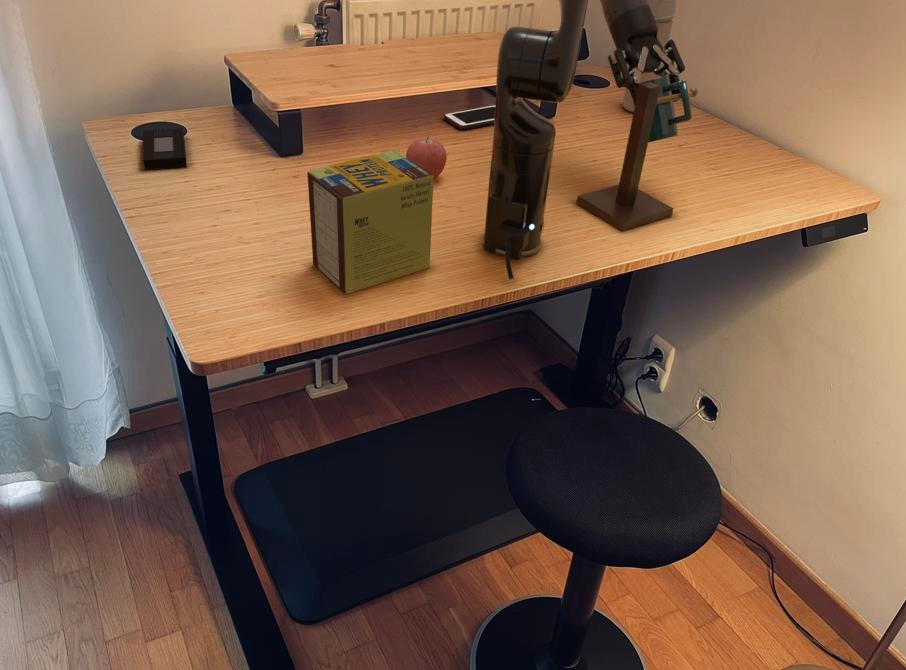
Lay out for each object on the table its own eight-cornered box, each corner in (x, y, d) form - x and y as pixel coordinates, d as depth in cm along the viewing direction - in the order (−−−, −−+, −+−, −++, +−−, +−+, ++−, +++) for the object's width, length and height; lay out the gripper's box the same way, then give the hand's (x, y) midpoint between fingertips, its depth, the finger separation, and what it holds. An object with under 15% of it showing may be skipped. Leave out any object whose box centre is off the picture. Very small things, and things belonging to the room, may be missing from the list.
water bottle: (660, 109, 182) (686, -8, 166) (642, 117, 177) (667, -3, 161) (626, 99, 186) (649, -17, 171) (607, 106, 182) (629, -12, 166)
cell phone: (441, 118, 171) (442, 114, 171) (497, 108, 178) (497, 104, 177) (461, 130, 166) (461, 126, 166) (517, 119, 173) (517, 115, 172)
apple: (418, 166, 151) (419, 125, 146) (451, 176, 149) (454, 134, 144) (398, 180, 146) (398, 138, 141) (432, 190, 144) (434, 147, 139)
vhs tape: (144, 170, 145) (142, 160, 144) (145, 140, 156) (143, 130, 154) (186, 167, 147) (185, 157, 145) (184, 138, 157) (182, 128, 156)
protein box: (431, 268, 122) (435, 173, 112) (345, 296, 115) (342, 198, 105) (394, 239, 129) (395, 148, 119) (311, 264, 121) (305, 169, 112)
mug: (632, 146, 140) (623, 88, 138) (658, 140, 143) (649, 83, 141) (679, 135, 131) (669, 72, 129) (706, 128, 134) (697, 67, 131)
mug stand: (622, 231, 134) (649, 102, 120) (576, 203, 142) (597, 79, 128) (694, 209, 142) (728, 85, 128) (647, 183, 150) (674, 64, 136)
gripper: (611, 7, 130) (646, 99, 130) (672, -1, 136) (705, 86, 136) (585, 33, 136) (617, 120, 136) (644, 24, 143) (675, 107, 143)
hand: (661, 103), depth 136 cm, fingers open, 8 cm apart
